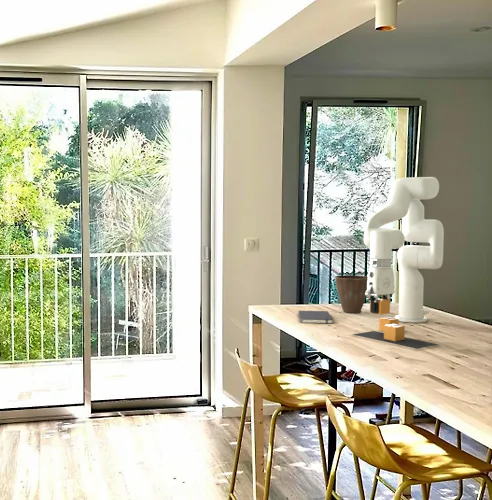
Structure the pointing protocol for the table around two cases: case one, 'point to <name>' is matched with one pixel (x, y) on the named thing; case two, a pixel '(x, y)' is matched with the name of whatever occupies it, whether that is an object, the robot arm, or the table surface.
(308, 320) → the notebook
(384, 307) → the letter L
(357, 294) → the flower pot
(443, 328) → the table surface
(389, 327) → the letter I
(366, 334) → the word mat
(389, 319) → the letter T
